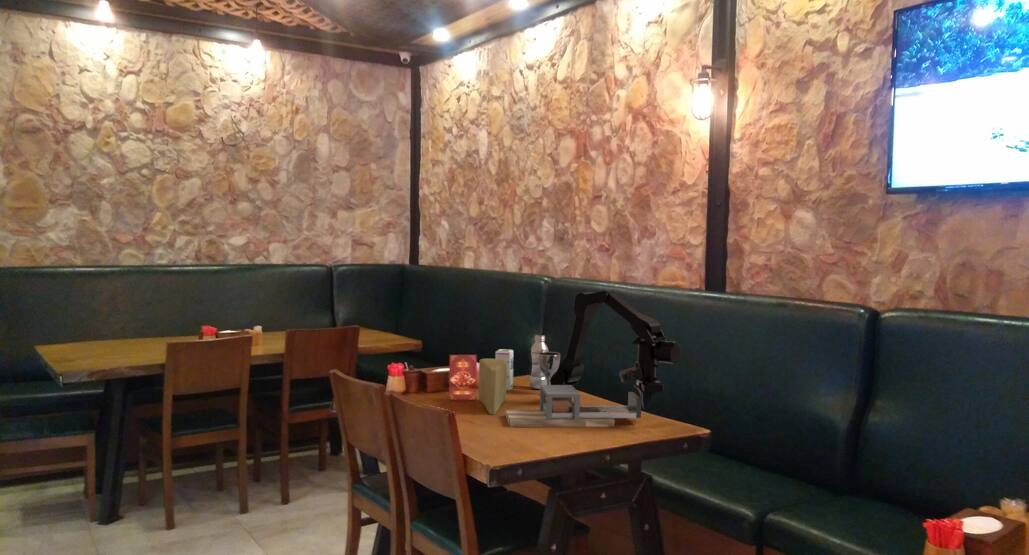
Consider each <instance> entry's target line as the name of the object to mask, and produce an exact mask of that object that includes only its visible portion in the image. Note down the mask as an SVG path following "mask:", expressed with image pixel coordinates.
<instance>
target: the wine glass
mask: <svg viewBox="0 0 1029 555" xmlns="http://www.w3.org/2000/svg"><path fill="white" fill-rule="evenodd" d="M538 363H539V368H540V370H541V371H542V372H543V374H544V375H545V376H546V379H547V385H551V383H550V380H551V379H552V378H553V375H555V374H556V373H557V370H558V367H559V365H560V363H561V353H560V352H558V351H557V352H555V351H548V352H539V353H538ZM538 396H540V392H539V393H538Z"/></svg>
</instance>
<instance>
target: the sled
mask: <svg viewBox="0 0 1029 555" xmlns="http://www.w3.org/2000/svg"><path fill="white" fill-rule="evenodd" d="M627 394H628V395H627V396H628V397H627V398H628V399H627V405H580V411H606V412H580V413H579V418H613V419H641V418H642V399H641V397H640V395H637V394H636V393H635V392H634V391H628V393H627ZM573 403H574V402H573ZM573 403H572V402H569V412H552V418H574V405H573ZM542 411H543V412H544V414H545V415H546V401H545V402H543V406H542Z"/></svg>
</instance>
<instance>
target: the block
mask: <svg viewBox="0 0 1029 555" xmlns="http://www.w3.org/2000/svg"><path fill="white" fill-rule="evenodd" d="M552 412H569V400H568V399H567V398H566V397H552Z"/></svg>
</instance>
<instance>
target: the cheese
mask: <svg viewBox="0 0 1029 555" xmlns="http://www.w3.org/2000/svg"><path fill="white" fill-rule="evenodd" d="M478 365H479V368H478V400H479V401H480V402H481V403H482V404H483V405H484V406H485V408H486V411H487V412H488V415H494V416H495V415H496V414H497V411H499V409H500V407H501V406H502V404H503V403H505V401H506V398H507V390H506V388H507V360H505V359H496V358H481V359H479V364H478Z"/></svg>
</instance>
